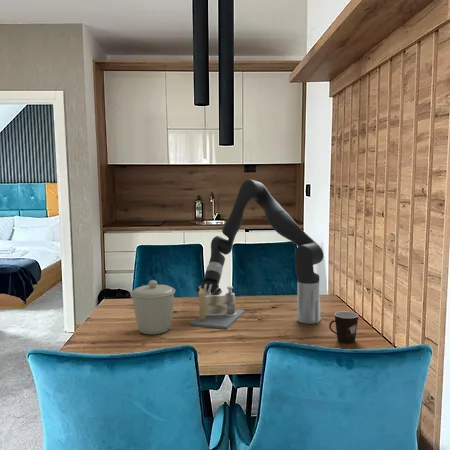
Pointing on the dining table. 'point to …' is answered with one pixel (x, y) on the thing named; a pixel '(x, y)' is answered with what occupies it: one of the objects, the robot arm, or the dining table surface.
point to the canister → (153, 307)
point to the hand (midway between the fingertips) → (203, 306)
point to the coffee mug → (345, 326)
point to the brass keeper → (202, 304)
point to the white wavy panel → (220, 304)
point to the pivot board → (218, 318)
